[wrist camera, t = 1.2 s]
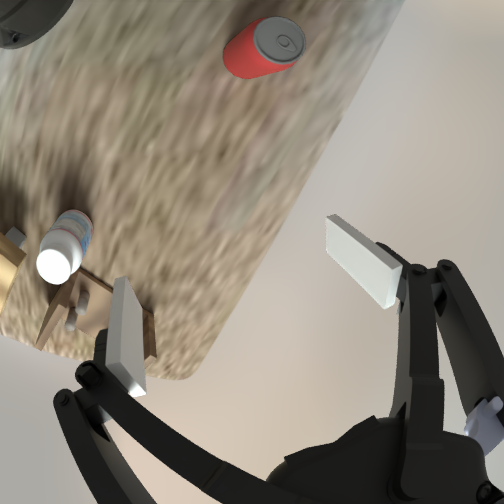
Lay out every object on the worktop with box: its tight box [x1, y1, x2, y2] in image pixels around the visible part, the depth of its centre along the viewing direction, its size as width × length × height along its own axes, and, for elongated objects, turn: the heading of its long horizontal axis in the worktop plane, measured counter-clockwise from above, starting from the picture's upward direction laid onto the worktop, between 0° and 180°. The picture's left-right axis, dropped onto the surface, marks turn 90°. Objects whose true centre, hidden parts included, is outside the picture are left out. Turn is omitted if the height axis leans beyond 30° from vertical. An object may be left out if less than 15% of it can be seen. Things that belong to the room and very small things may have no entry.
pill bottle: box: [37, 210, 93, 284], centre depth 30 cm, size 6×6×11 cm
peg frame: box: [35, 267, 157, 369], centre depth 38 cm, size 16×11×10 cm
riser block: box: [5, 226, 26, 249], centre depth 29 cm, size 3×8×6 cm, turn 132°
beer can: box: [223, 16, 306, 79], centre depth 26 cm, size 7×7×12 cm
